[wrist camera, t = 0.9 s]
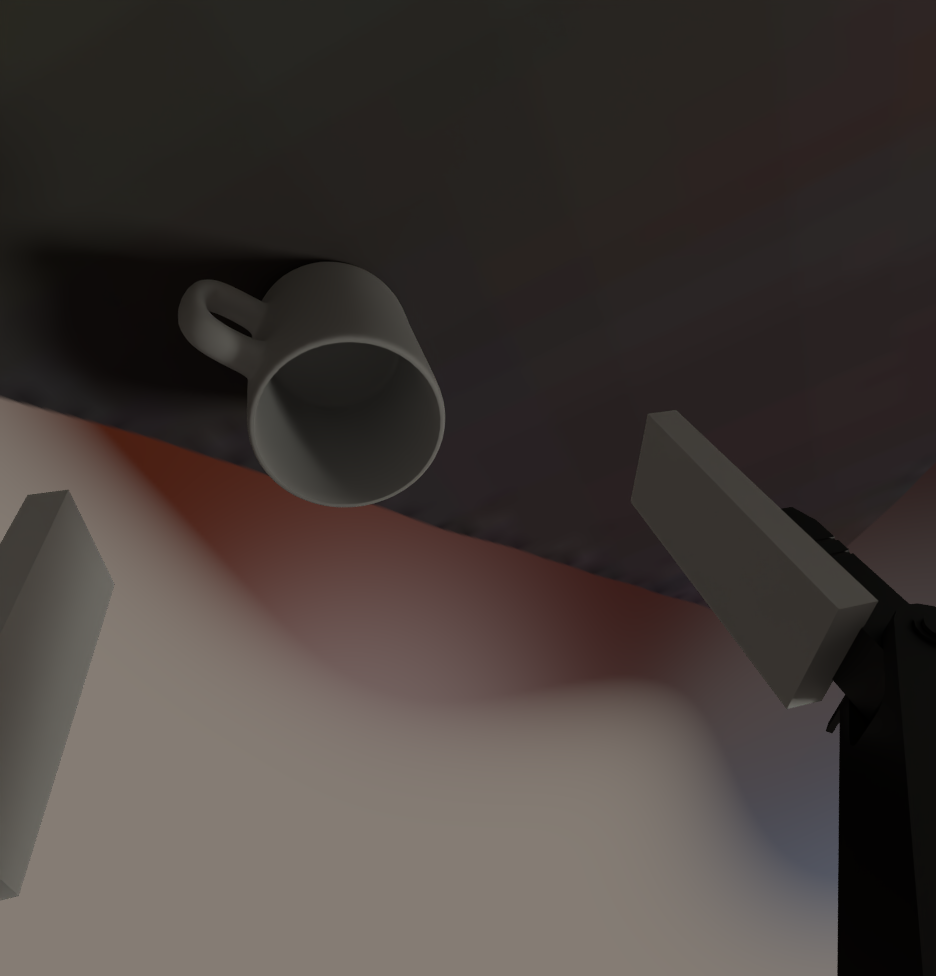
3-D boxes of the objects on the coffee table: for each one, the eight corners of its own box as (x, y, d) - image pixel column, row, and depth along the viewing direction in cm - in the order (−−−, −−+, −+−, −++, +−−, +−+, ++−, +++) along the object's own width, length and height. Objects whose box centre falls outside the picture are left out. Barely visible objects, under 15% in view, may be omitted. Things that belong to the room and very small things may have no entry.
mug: (435, 311, 35) (485, 394, 27) (360, 426, 38) (384, 534, 30) (233, 184, 29) (213, 238, 21) (163, 332, 32) (120, 432, 24)
